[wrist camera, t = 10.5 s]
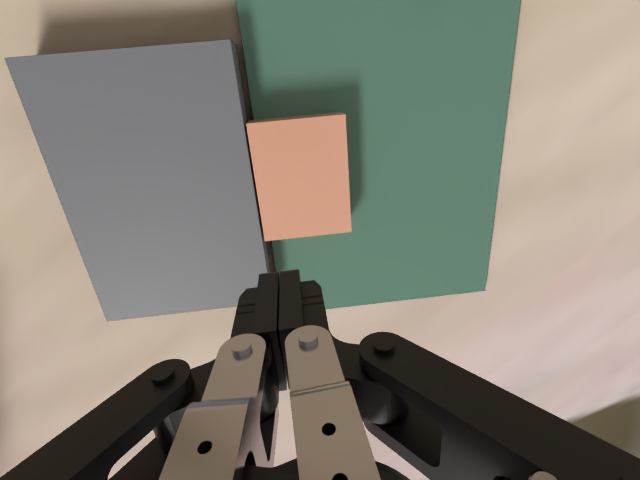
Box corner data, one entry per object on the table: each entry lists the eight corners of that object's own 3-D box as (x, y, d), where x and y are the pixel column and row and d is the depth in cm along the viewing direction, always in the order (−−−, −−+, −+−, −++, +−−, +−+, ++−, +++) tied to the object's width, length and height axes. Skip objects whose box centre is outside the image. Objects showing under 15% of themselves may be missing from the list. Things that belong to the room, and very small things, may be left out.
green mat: (235, -7, 24) (234, -9, 24) (519, -28, 25) (524, -31, 25) (282, 310, 35) (282, 314, 34) (481, 287, 36) (485, 290, 35)
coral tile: (249, 120, 27) (246, 123, 25) (340, 111, 28) (345, 114, 25) (266, 229, 31) (264, 241, 29) (346, 221, 31) (351, 231, 29)
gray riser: (35, 60, 25) (4, 57, 22) (236, 44, 26) (230, 39, 23) (121, 301, 33) (106, 321, 30) (273, 284, 34) (271, 302, 31)
